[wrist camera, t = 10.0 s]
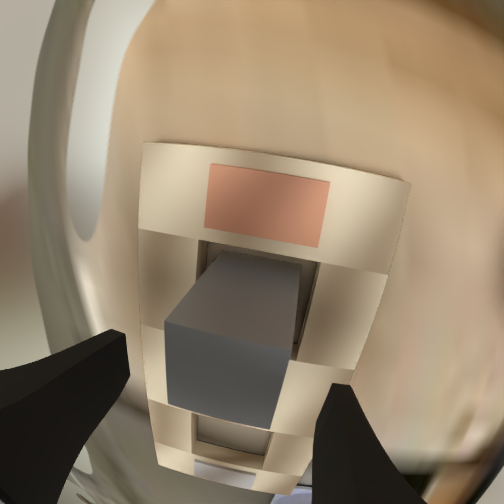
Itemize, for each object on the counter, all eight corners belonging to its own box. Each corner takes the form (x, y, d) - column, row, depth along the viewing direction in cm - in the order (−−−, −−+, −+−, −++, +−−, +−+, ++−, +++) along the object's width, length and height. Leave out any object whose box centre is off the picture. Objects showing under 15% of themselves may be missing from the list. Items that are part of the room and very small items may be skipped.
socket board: (401, 180, 13) (413, 184, 11) (291, 482, 22) (289, 498, 20) (157, 141, 14) (139, 142, 13) (164, 452, 23) (157, 466, 22)
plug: (301, 264, 15) (291, 349, 9) (286, 331, 17) (269, 429, 10) (222, 250, 16) (164, 321, 9) (216, 316, 17) (167, 404, 11)
